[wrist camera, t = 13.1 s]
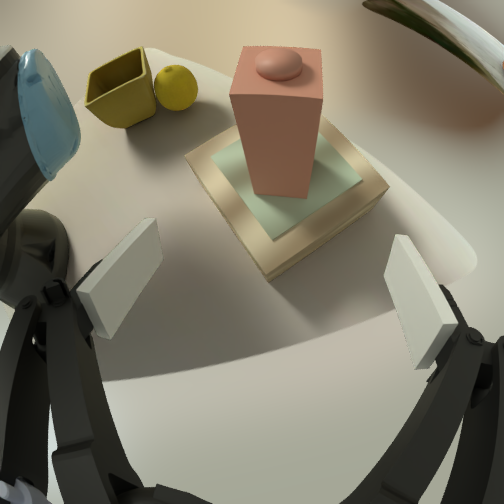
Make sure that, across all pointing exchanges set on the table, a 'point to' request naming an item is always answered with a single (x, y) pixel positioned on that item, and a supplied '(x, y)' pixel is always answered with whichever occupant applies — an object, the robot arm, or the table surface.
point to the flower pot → (122, 90)
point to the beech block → (288, 208)
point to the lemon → (175, 87)
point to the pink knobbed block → (278, 116)
